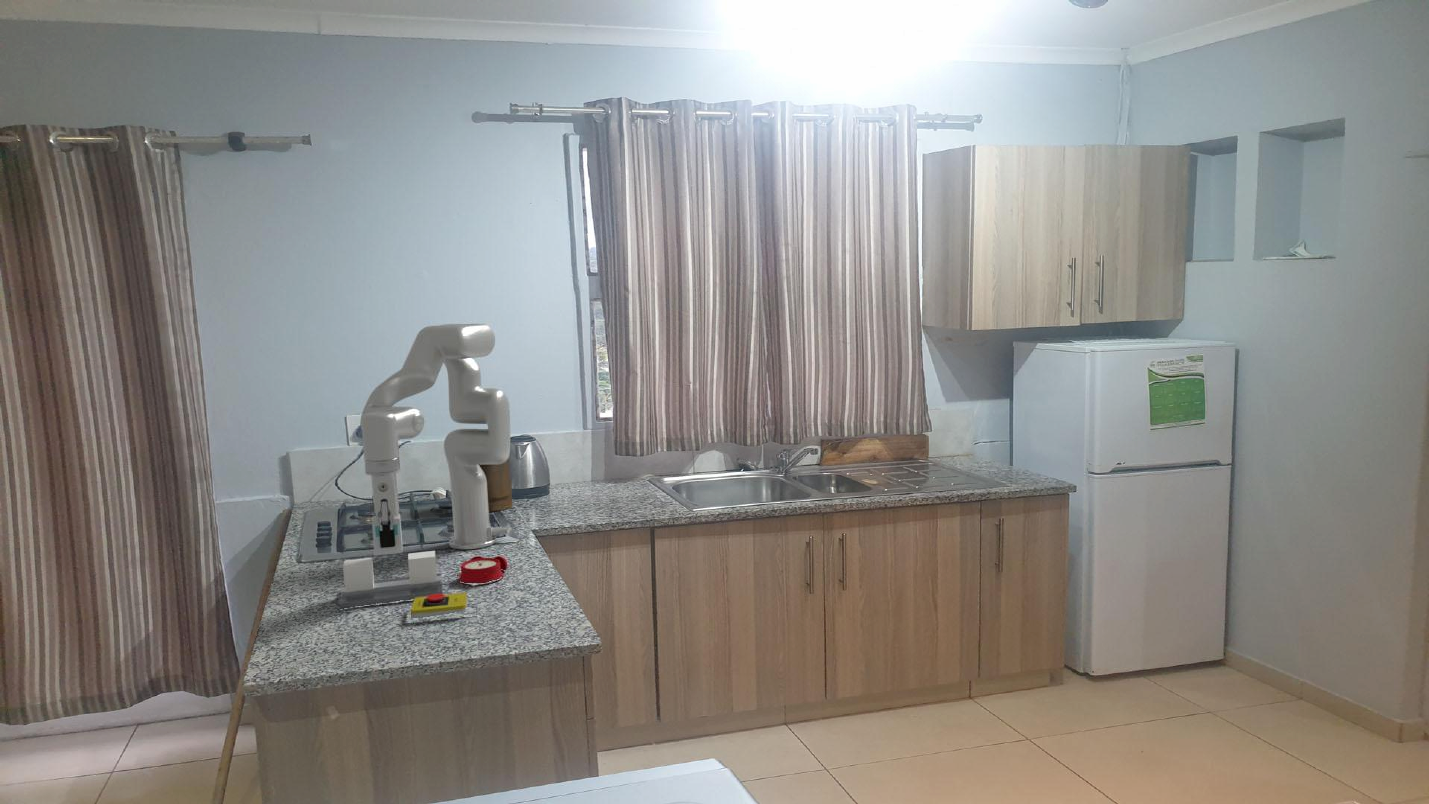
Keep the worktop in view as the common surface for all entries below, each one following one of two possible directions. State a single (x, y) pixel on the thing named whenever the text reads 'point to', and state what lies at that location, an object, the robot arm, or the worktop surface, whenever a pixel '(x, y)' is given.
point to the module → (397, 532)
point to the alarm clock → (482, 569)
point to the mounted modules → (362, 576)
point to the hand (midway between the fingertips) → (388, 543)
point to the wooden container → (498, 486)
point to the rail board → (389, 592)
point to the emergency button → (438, 605)
